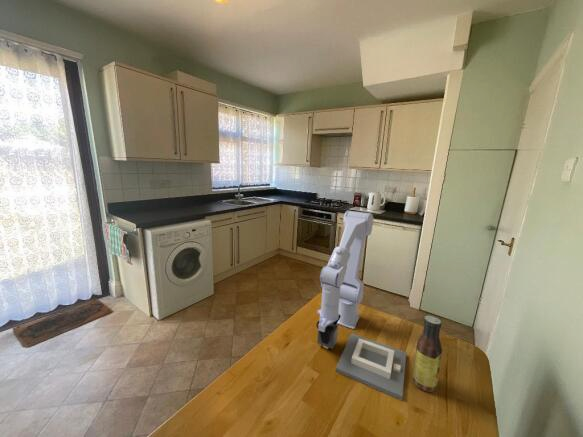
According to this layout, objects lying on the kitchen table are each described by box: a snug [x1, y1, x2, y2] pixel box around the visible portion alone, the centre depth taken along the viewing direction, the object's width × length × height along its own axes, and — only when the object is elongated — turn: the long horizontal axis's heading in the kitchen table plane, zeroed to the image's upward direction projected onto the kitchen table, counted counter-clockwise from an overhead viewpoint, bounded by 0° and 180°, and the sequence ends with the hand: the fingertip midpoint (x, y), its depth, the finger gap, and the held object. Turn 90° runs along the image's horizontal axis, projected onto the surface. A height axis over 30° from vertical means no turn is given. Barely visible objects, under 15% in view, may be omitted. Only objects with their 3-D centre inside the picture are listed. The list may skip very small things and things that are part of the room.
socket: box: [335, 332, 407, 401], centre depth 73 cm, size 18×18×3 cm
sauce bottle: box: [411, 315, 443, 393], centre depth 65 cm, size 6×6×20 cm
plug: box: [317, 323, 339, 350], centre depth 80 cm, size 4×5×7 cm
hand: (327, 338), depth 80 cm, fingers closed on plug, 4 cm apart
